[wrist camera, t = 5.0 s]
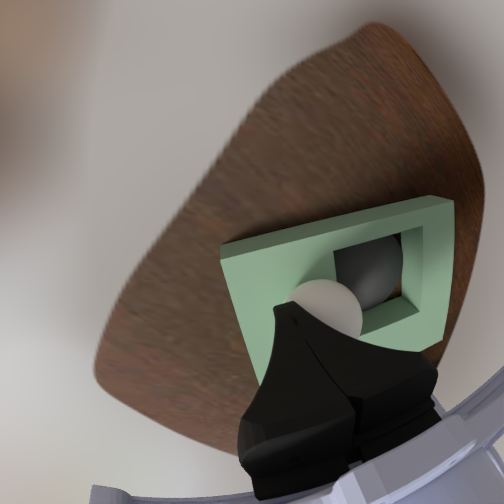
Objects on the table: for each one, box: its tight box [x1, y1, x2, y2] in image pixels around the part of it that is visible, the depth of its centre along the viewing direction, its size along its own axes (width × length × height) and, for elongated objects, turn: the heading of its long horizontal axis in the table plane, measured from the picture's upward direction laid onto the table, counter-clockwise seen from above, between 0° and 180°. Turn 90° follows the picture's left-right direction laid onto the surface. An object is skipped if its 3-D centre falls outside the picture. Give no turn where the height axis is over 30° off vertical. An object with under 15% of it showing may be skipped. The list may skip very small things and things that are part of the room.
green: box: [220, 195, 454, 385], centre depth 16 cm, size 11×14×2 cm
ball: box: [283, 279, 363, 339], centre depth 12 cm, size 4×4×4 cm
